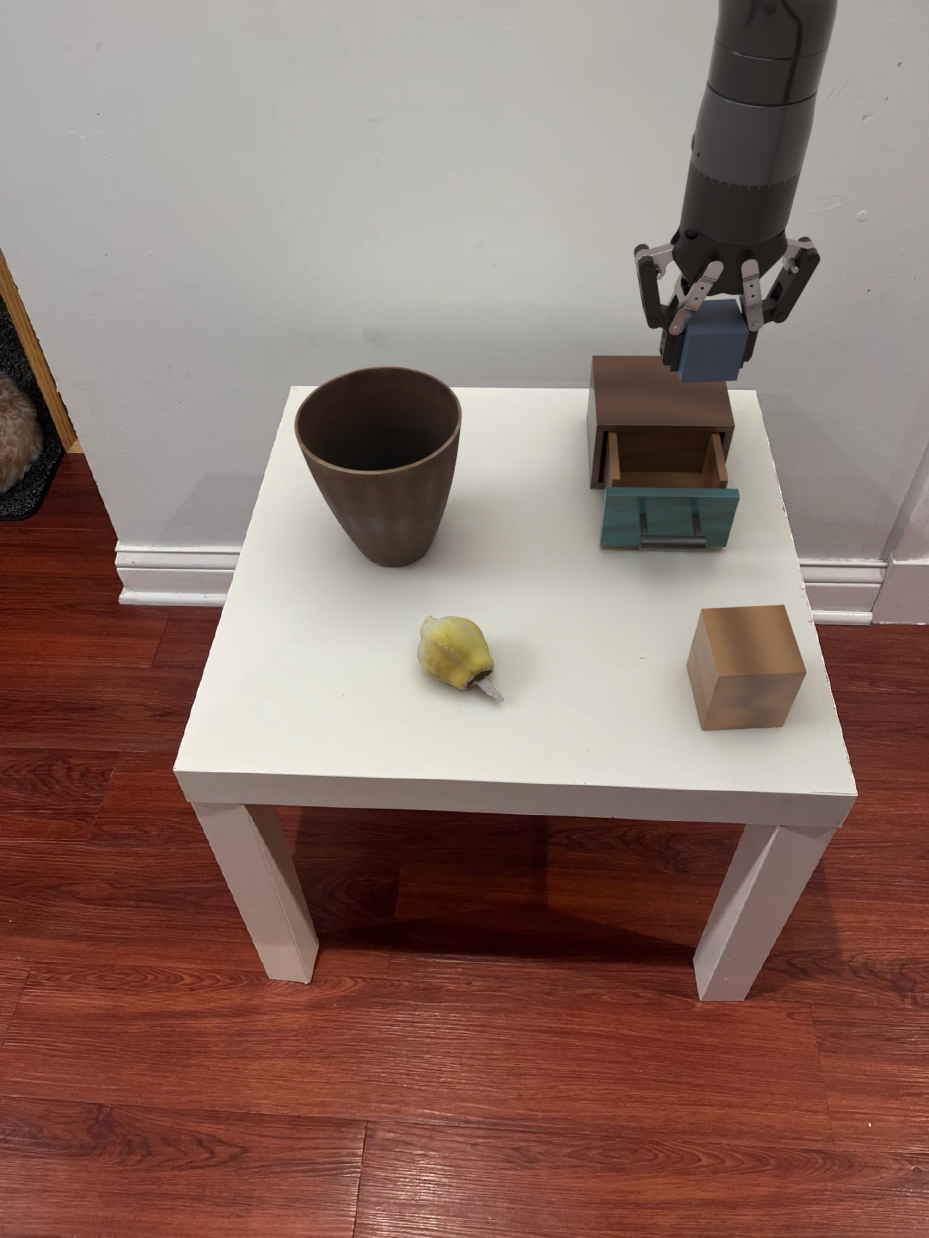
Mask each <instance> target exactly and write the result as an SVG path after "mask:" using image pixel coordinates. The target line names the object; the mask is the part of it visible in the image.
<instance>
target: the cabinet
mask: <svg viewBox="0 0 929 1238" xmlns="http://www.w3.org/2000/svg"><path fill="white" fill-rule="evenodd" d="M586 410H587V411H586V433H587V435H586V436H587V451H588V452H587V454H588V455H587V456H588V474H589V488H590V489H594V490H598V489H599V490H600V489H601V490H602V489H603V490H604V482H603V467H604V458H605V449H606V440H607V431H666V432H719V434H720V439H721V444H722V450H723V455H724V460H725V465H726V464H727V460H728V456H729V453H730V447H731V444H732V440H733V436H734V432H735V428H736V423H735V418H734V413H733V409H732V404H731V399H730V395H729V391H728V384H727V381H720V382H699V383H681V382H680V379H679V376H678V373H677V372H669V371H668V367H667V366H664V365H663V362H662V358H661V355H595V354H593V355H592V356H591V366H590V376H589V387H588V400H587V409H586ZM726 466H727V465H726Z"/></svg>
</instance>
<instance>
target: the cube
mask: <svg viewBox="0 0 929 1238" xmlns="http://www.w3.org/2000/svg"><path fill="white" fill-rule="evenodd" d="M693 634H694V635H693V638H692V643H691V647H690V650H689V655H688V656H687V661H686V669H687V673H688V678H689V683H690V687H691V691H692V695H693V700H694V704H695V707H696V712H697V717H698V720H699V725H700V730H701V731H715V730H716V731H717V730H718V731H719V730H720V731H721V730H738V729H759V728H760V729H762V728H779V727H780V728H781V727H784V725H785V723H786V721H787V719H788V716H789V714H790V711H791V709H792V707H793V704H794V703H795V699H797V696H798V694H799V691H800V688H801V686H802V684H803V682H804V680H805V677H806V675H807V668H806V666H805V663H804V659H803V657H802V654H801V650H800V647H799V644H798V641H797V639H796V635H795V632H794V630H793V626H792V623H791V620H790V617H789V614H788V612H787V609H786V606H785V604H771V605H770V604H769V605H768V604H767V605H751V606H750V605H749V606H731V607H729V606H727V607H707V608H700V612H699V615H698V620H697V624H696V627H695V631H694V633H693Z"/></svg>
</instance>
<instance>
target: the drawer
mask: <svg viewBox="0 0 929 1238" xmlns="http://www.w3.org/2000/svg"><path fill="white" fill-rule="evenodd" d="M603 482H604V489H603V495H604V496H603V505H602V514H601V523H600V529H599V530H600V531H599V545H600V546H611V547H613V546H615V547H616V546H617V547H638V549H639V551H664V552H665V551H667V552H669V551H672V552H705V551H706V550H707V548H727V547H728V546H727V545H728V543H729V538H730V535H731V530H732V527H733V524H734V519H735V517H736V512H737V509H738V506H739V502H740V498H741V497H740V491H739V489H738V488H727V487H728V484H729V477H728V472H727V465H725V460H724V455H723V450H722V444H721V439H720V434H719V432H666V431H607V440H606V449H605V458H604V467H603Z"/></svg>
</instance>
